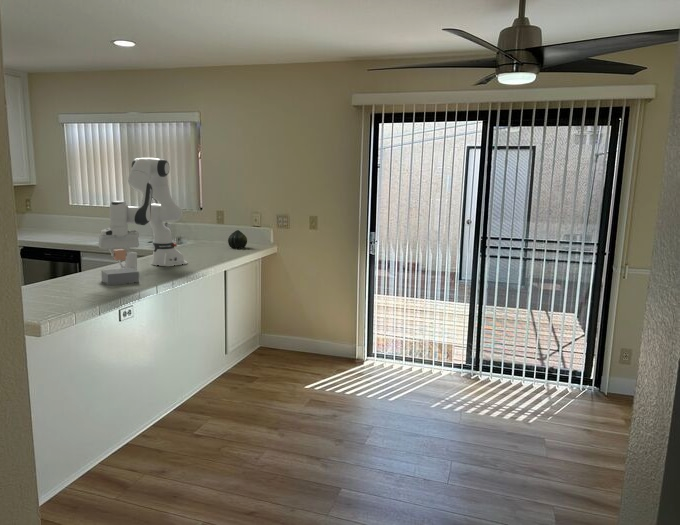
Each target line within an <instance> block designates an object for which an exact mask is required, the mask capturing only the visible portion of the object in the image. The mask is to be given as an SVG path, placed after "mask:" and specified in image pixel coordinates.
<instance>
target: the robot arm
mask: <svg viewBox="0 0 680 525" xmlns="http://www.w3.org/2000/svg"><path fill="white" fill-rule="evenodd" d="M170 167H171V166H170V163H169V161H168V160H166V159H165V158H155V157H137V158H134V159H133V161H131V169H130V172H129V174H128V178H127V182H128V185H129V186H130V188H132V189H133V190H135V191H136V192H138V193H140V194H142V200H141V205H140V206H131V205H128V204H127V203H126V201H125V200H121V199H120V200H119V199H118V200H113V201H111V202H110V204H109V213H108V214H109V220H110V222H109V227H107V228H104V229H101V230H100V236H99V238H98V248H99V249H101V250H108V251H109V252H110V254H111V256H110V257H111V258H113V257H115V253H113V250H117V249H125V251H126V256H128V252H130V249H131V248H133V249H134V248H139V246H140V242H139V237H140V236H139V232H138V231H137V230H129V229H128V225H129V224H130V225H139V226H146V225H147V224H149V225H150V227H151V229H152V234H153V238H152V239H153V242H152V251H153V253H152V260H151V265H153V266H157V265H159V267H160V266H162V267H172V266H174V265H175V266H181V265H182V264H183V265H188V261H187V260H185V257H184V254H183V253H182V252H180V251H179V250H178V249H177V248H176V247H177V246H178V244H177V243H175V242H172V234H173V233H172V230H171V229H170V228H169V227H168V226H165V224H164V222H171V223H172V222H177V221H180V220H182V218H183V215H184V214H183V213H184V212H183V209H182V207H181V206H180V205H178V204H177V203H176V202H175V201H174V199H173V198H172V196H171V193H170V188H169V187H170V186H169V180H168V175H169V174H170V170H171V169H170ZM152 198H153V199H154V200H156V201H157V202H158V203H152V201H153V200H152Z"/></svg>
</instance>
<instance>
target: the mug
mask: <svg viewBox="0 0 680 525" xmlns="http://www.w3.org/2000/svg"><path fill="white" fill-rule="evenodd" d="M137 252H138V251H137ZM137 252H136V251H129V252H128V256H126V260H124V265H123V264H122V260H118V264H119V266H120V269H124V268H133V269H135V270H136V271H138V253H137Z"/></svg>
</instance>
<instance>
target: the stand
mask: <svg viewBox="0 0 680 525" xmlns="http://www.w3.org/2000/svg"><path fill="white" fill-rule="evenodd" d="M100 271H101V281H103V283H104V284H105V283H106V284H105V285H106V286H108V285H109V286H116V285H118V284H119V285H126V284H125V283H129V284H135V283H134V282H140V278H139V277H140V272H139V271H138V270H137V271H136V270H135V269H133V268H116V269H113V268H111V269H102V270H100ZM119 285H118V286H119Z"/></svg>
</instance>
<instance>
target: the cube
mask: <svg viewBox="0 0 680 525" xmlns="http://www.w3.org/2000/svg"><path fill="white" fill-rule="evenodd" d="M112 252H113V253H115V257H112V258H113V260H115V261H119V260H121V261H125V260H126V249H124V248H117V249H113V251H112Z"/></svg>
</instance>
